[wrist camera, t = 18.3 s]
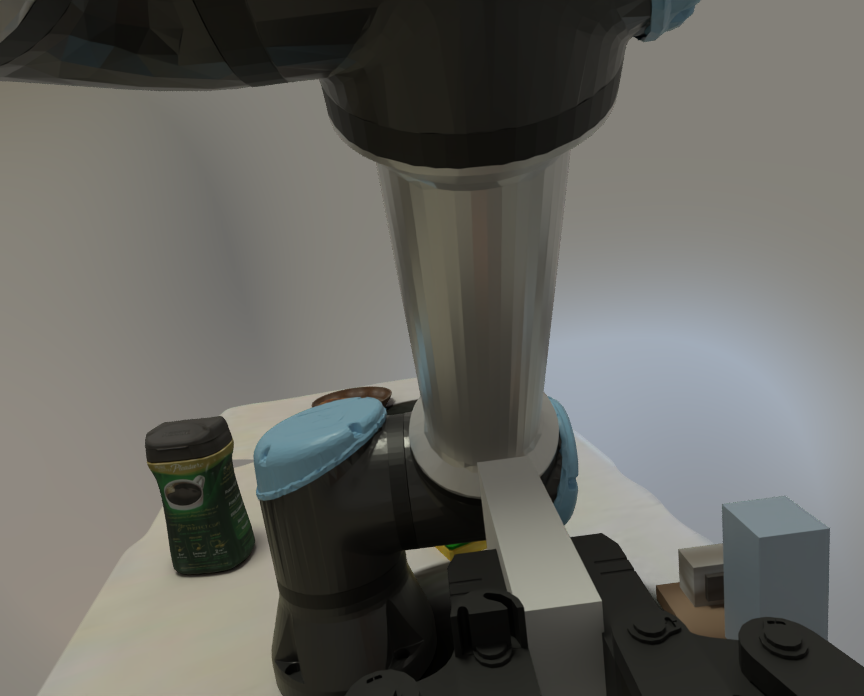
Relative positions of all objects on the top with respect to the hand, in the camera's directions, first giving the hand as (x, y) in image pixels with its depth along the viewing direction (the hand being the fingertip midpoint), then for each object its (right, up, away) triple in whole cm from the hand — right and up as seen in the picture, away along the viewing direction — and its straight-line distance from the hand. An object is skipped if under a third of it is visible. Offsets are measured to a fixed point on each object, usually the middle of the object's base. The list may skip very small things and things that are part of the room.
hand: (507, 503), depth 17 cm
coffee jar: (-30, -23, +57) cm, 68 cm away
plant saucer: (-20, -10, +112) cm, 114 cm away
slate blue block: (+25, -20, +29) cm, 43 cm away
